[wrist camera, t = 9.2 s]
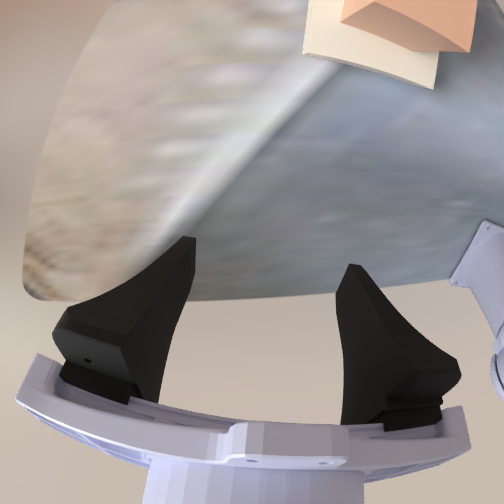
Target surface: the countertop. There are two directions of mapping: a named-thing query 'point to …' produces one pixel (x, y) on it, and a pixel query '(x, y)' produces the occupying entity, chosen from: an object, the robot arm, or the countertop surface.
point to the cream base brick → (363, 47)
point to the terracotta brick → (415, 22)
